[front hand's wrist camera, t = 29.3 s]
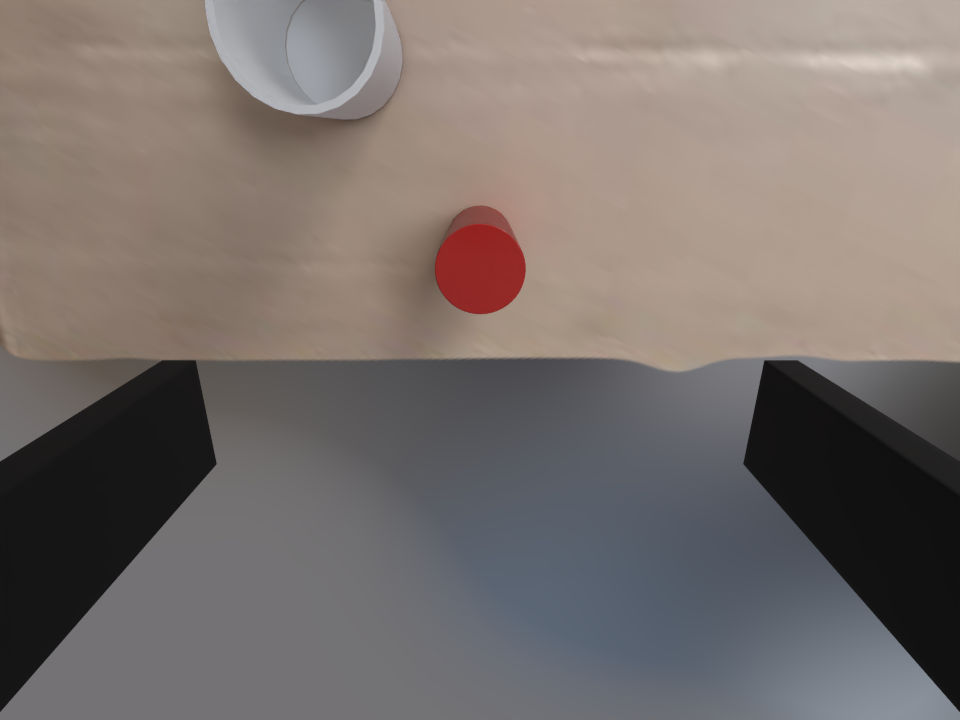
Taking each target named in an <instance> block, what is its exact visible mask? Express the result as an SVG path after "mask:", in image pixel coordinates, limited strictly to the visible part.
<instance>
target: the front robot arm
mask: <svg viewBox="0 0 960 720" xmlns="http://www.w3.org/2000/svg"><path fill="white" fill-rule="evenodd" d="M743 464H744V465H745V466H746V468H747V469H748V470H749V471H750V472H751V473H752V474H753V476H754V477H755V478H756V479H757V480H758V481H759V482H760V484H761V485H762V486H763V487H764V488H765V489H766V491H767V492H768V493H769V494H770V495H771V496H772V497H773V499H774V500H775V501H776V502H777V503H778V504H779V505H780V507H781V508H782V509H783V510H784V511H785V512H786V513H787V515H788V516H789V517H790V518H791V519H792V520H793V521H794V523H795V524H796V525H797V526H798V527H799V528H800V529H801V530H802V532H803V533H804V534H805V535H806V536H807V537H808V539H809V540H810V541H811V542H812V543H813V544H814V545H815V547H816V548H817V549H818V550H819V551H820V552H821V553H822V555H823V556H824V557H825V558H826V559H827V560H828V562H829V563H830V564H831V565H832V566H833V567H834V568H835V570H836V571H837V572H838V573H839V574H840V575H841V576H842V578H843V579H844V580H845V581H846V582H847V583H848V584H849V586H850V587H851V588H852V589H853V590H854V591H855V592H856V594H857V595H858V596H859V597H860V598H861V599H862V600H863V602H864V603H865V604H866V605H867V606H868V607H869V608H870V610H871V611H872V612H873V613H874V614H875V615H876V616H877V618H878V619H879V620H880V621H881V622H882V623H883V625H884V626H885V627H886V628H887V629H888V630H889V631H890V633H891V634H892V635H893V636H894V637H895V638H896V639H897V641H898V642H899V643H900V644H901V645H902V646H903V647H904V649H905V650H906V651H907V652H908V653H909V654H910V655H911V657H912V658H913V659H914V660H915V661H916V662H917V663H918V665H919V666H920V667H921V668H922V669H923V670H924V671H925V673H926V674H927V675H928V676H929V677H930V678H931V679H932V681H933V682H934V683H935V684H936V685H937V686H938V687H939V689H940V690H941V691H942V692H943V693H944V694H945V695H946V697H947V698H948V699H949V700H950V701H951V702H952V703H953V705H954V706H955V707H956V708H957V709H958V710H959V712H960V461H958V460H956V459H955V458H953V457H952V456H950V455H948V454H947V453H945V452H943V451H942V450H940V449H939V448H937V447H936V446H934V445H932V444H931V443H929V442H928V441H926V440H924V439H923V438H921V437H919V436H918V435H916V434H915V433H913V432H911V431H910V430H908V429H907V428H905V427H903V426H902V425H900V424H899V423H897V422H895V421H894V420H892V419H891V418H889V417H887V416H886V415H884V414H883V413H881V412H879V411H878V410H876V409H875V408H873V407H871V406H870V405H868V404H867V403H865V402H863V401H862V400H860V399H859V398H857V397H855V396H854V395H852V394H851V393H849V392H847V391H846V390H844V389H843V388H841V387H839V386H838V385H836V384H835V383H833V382H831V381H830V380H828V379H826V378H825V377H823V376H822V375H820V374H818V373H817V372H815V371H814V370H812V369H810V368H809V367H807V366H806V365H804V364H802V363H801V362H799V361H796V360H790V361H789V360H788V361H786V360H785V361H784V360H782V361H779V360H776V361H775V360H774V361H773V360H771V361H770V360H768V361H767V360H765V361H764V365H763V370H762V375H761V380H760V385H759V390H758V395H757V400H756V404H755V409H754V414H753V419H752V424H751V429H750V434H749V439H748V444H747V449H746V454H745V459H744V463H743ZM215 465H216V459H215V454H214V449H213V444H212V439H211V434H210V429H209V424H208V419H207V414H206V410H205V405H204V400H203V395H202V390H201V385H200V380H199V375H198V370H197V365H196V360H162V361H161V362H159V363H158V364H156V365H154V366H153V367H151V368H150V369H148V370H146V371H145V372H143V373H142V374H140V375H138V376H137V377H135V378H134V379H132V380H130V381H129V382H127V383H125V384H124V385H122V386H121V387H119V388H117V389H116V390H114V391H113V392H111V393H109V394H108V395H106V396H105V397H103V398H101V399H100V400H98V401H97V402H95V403H93V404H92V405H90V406H89V407H87V408H85V409H84V410H82V411H81V412H79V413H78V414H76V415H74V416H73V417H71V418H69V419H68V420H66V421H65V422H63V423H61V424H60V425H58V426H57V427H55V428H53V429H52V430H50V431H49V432H47V433H45V434H44V435H42V436H41V437H39V438H37V439H36V440H34V441H33V442H31V443H29V444H28V445H26V446H24V447H23V448H21V449H20V450H18V451H16V452H15V453H13V454H12V455H10V456H8V457H7V458H5V459H4V460H2V461H0V712H1V710H2V709H3V708H4V707H5V706H6V705H7V704H8V702H9V701H10V700H11V699H12V698H13V697H14V695H15V694H16V693H17V692H18V691H19V690H20V689H21V687H22V686H23V685H24V684H25V683H26V682H27V681H28V679H29V678H30V677H31V676H32V675H33V674H34V673H35V671H36V670H37V669H38V668H39V667H40V666H41V665H42V663H43V662H44V661H45V660H46V659H47V658H48V657H49V655H50V654H51V653H52V652H53V651H54V650H55V648H56V647H57V646H58V645H59V644H60V643H61V642H62V641H63V639H64V638H65V637H66V636H67V635H68V634H69V632H70V631H71V630H72V629H73V628H74V627H75V626H76V624H77V623H78V622H79V621H80V620H81V619H82V618H83V616H84V615H85V614H86V613H87V612H88V611H89V610H90V608H91V607H92V606H93V605H94V604H95V603H96V602H97V600H98V599H99V598H100V597H101V596H102V595H103V594H104V592H105V591H106V590H107V589H108V588H109V587H110V586H111V584H112V583H113V582H114V581H115V580H116V579H117V578H118V576H119V575H120V574H121V573H122V572H123V571H124V570H125V568H126V567H127V566H128V565H129V564H130V563H131V562H132V560H133V559H134V558H135V557H136V556H137V555H138V554H139V552H140V551H141V550H142V549H143V548H144V547H145V545H146V544H147V543H148V542H149V541H150V540H151V539H152V537H153V536H154V535H155V534H156V533H157V532H158V531H159V529H160V528H161V527H162V526H163V525H164V524H165V523H166V521H167V520H168V519H169V518H170V517H171V516H172V515H173V513H174V512H175V511H176V510H177V509H178V508H179V507H180V505H181V504H182V503H183V502H184V501H185V500H186V498H187V497H188V496H189V495H190V494H191V493H192V492H193V491H194V489H195V488H196V487H197V486H198V485H199V484H200V482H201V481H202V480H203V479H204V478H205V477H206V476H207V474H208V473H209V472H210V471H211V470H212V469H213V468H214V466H215Z"/></svg>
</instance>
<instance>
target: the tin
mask: <svg viewBox="0 0 960 720" xmlns="http://www.w3.org/2000/svg"><path fill="white" fill-rule="evenodd" d="M525 271H526V267H525V259H524V256H523V252H522V250H521V248H520V246H519V244H518V242H517V240H516V238H515V235H514V233H513V231H512V229H511V227H510V225H509V223H508V221H507V220H506V218H505V217H504V216H503V215H502V214H501V213H500V212H498V211H497V210H495V209H493V208H490V207H486V206H474V207H470V208H467V209H466V210H464V211H462V212H461V213H460V214H458V215H457V216H456V218H455V219H454V220H453V222H452V224H451V226H450V228H449V230H448V232H447V234H446V237H445V239H444V241H443V243H442V245H441V247H440V249H439V252H438V254H437V257H436V262H435V276H436V280H437V284H438V286H439V289H440V290H441V292H442V294H443V295H444V297H445V298H446V299H447V300H448V301H449V302H450V303H451V304H452V305H454V306H455V307H457V308H458V309H461V310H463V311H465V312H468V313H473V314H487V313H492V312H495V311H498V310H500V309H502V308H504V307H505V306H507V305H508V304H509V303H511V302H512V301H513V300H514V298H515V297H516V296H517V295H518V293H519V291H520V290H521V288H522V285H523V282H524V278H525Z"/></svg>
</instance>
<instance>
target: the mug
mask: <svg viewBox="0 0 960 720" xmlns="http://www.w3.org/2000/svg"><path fill="white" fill-rule="evenodd" d="M205 9H206V15H207V20H208V26H209V31H210V35H211V37H212V39H213V42H214V44H215V47H216V49H217V52H218V54H219V56H220V59H221V60H222V61H223V63H224V64H225V66H226V67H227V69H228V70H229V72H230V73H231V74H232V76H233V77H234V79H235V80H236V81H237V82H238V83H239V84H240V85H241V86H242V87H244V88H245V89H246V90H247V91H248V92H249V93H250V94H251V95H252V96H253V97H255V98H257V99H258V100H260V101H262V102H264V103H266V104H267V105H269V106H271V107H273V108H275V109H278V110H282V111H286V112H290V113H293V114H297V115H305V116H314V117H324V118H333V119H342V120H351V119H360V118H363V117H366V116H369V115H372V114H373V113H375V112H376V111H378V110H379V109H381V108H382V107H383V106H384V105H385V104H386V103H387V102H388V100H389V99H390V98H391V97H392V95H393V94H394V92H395V90H396V88H397V85H398V83H399V81H400V77H401V71H402V65H403V54H402V43H401V40H400V37H399V34H398V30H397V27H396V25H395V23H394V20H393V18H392V15H391V13H390V10H389V8H388V5H387V3H386V1H385V0H205Z"/></svg>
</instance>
